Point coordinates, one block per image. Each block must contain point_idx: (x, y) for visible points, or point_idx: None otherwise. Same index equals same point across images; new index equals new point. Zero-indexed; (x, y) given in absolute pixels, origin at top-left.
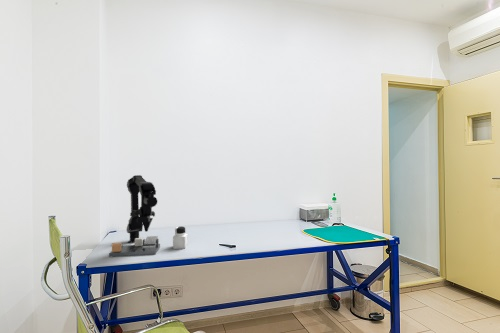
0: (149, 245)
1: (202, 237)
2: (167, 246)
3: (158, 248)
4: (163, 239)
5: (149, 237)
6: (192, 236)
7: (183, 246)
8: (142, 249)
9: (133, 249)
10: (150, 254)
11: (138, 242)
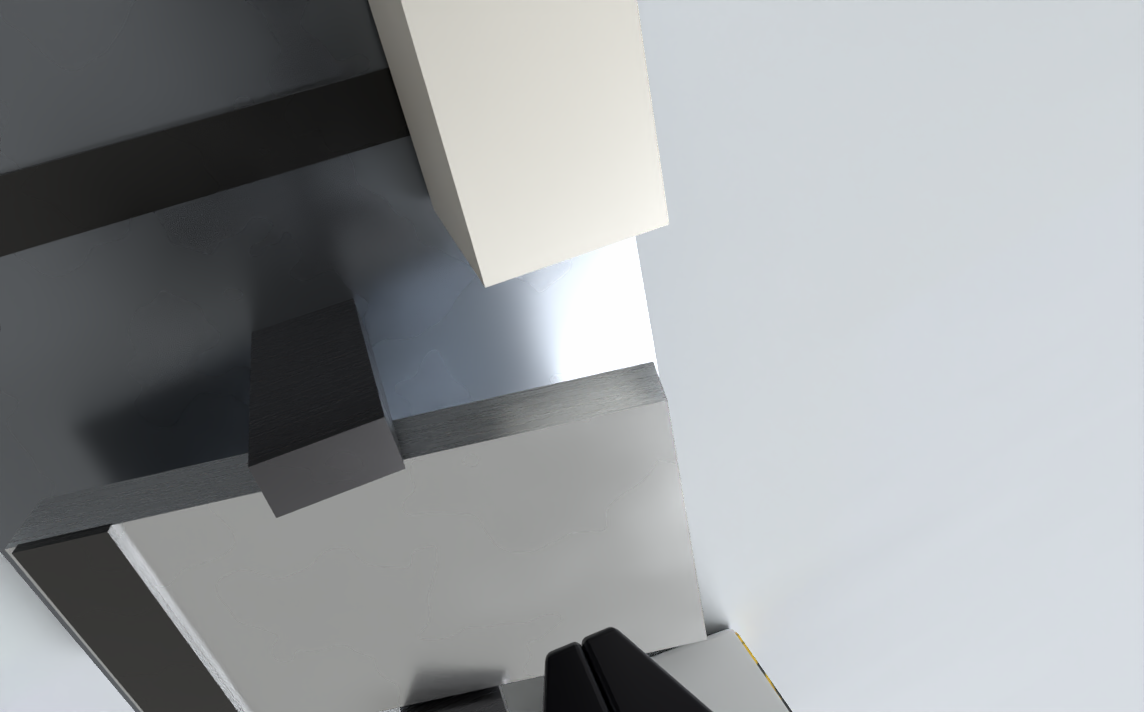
0: (118, 684)
1: (1051, 690)
2: None
3: None
4: (1140, 226)
5: (604, 489)
6: (1140, 563)
7: None
8: (145, 389)
9: (45, 113)
10: None
11: (425, 134)
